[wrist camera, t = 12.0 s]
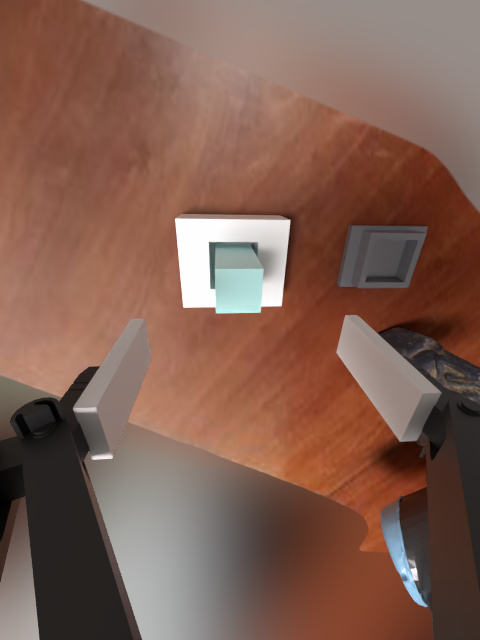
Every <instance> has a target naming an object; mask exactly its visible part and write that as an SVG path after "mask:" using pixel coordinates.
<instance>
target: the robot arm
mask: <svg viewBox="0 0 480 640" xmlns="http://www.w3.org/2000/svg"><path fill="white" fill-rule="evenodd" d="M336 353H337V354H338V356H339V357H340V358H341V360H342V361H343V363H344V364H345V365H346V367H347V368H348V370H349V371H350V372H351V374H352V375H353V377H354V378H355V379H356V381H357V382H358V384H359V385H360V386H361V388H362V389H363V391H364V392H365V393H366V395H367V396H368V398H369V399H370V400H371V402H372V403H373V405H374V406H375V407H376V409H377V410H378V412H379V413H380V414H381V416H382V417H383V419H384V420H385V421H386V423H387V424H388V426H389V427H390V428H391V430H392V431H393V433H394V434H395V435H396V437H397V438H398V440H399V441H400V442H405V441H415V442H416V443H417V444H419V445H421V446H423V449H422V451H421V452H420V455H419V457H421V458H422V457H423V456H424V454H426V474H427V487H425V488H423V489H420V490H418V491H416V492H413V493H411V494H408V495H406V496H404V497H403V496H401V497H399V498H398V499H397V500H396V501H394V502H392V503H390V504H388V505H386V506H385V507H384V508H383V509H382V511H381V526H382V531H383V534H384V538H385V541H386V544H387V547H388V550H389V552H390V555H391V557H392V560H393V562H394V565H395V567H396V569H397V571H398V572H399V573H400V575H401V578H402V581H403V583H404V585H405V587H406V589H407V591H408V592H409V594H410V595H411V597H412V598H413V599H414V601H416V602H417V603H418V604H419V605H423V606H425V607H427V606H428V607H429V609H430V611H431V613H432V618H433V640H480V404H478V403H477V402H475V401H473V400H470V399H468V398H464V397H462V396H461V394H462V393H458V392H455V391H451V390H448V389H446V388H445V387H444V386H443V385H442V384H440V383H439V382H438V381H437V380H436V379H435V378H434V377H431V375H430V374H429V373H428V372H427V371H425V369H423V368H422V367H421V366H420V365H419V364H418V363H417V362H415V361H413V360H411V359H410V358H408V357H406V356H403V357H402V356H401V355H400V354H399V353H398V352H397V351H396V350H395V349H394V348H393V347H392V346H390V345H389V344H388V343H387V342H386V341H385V340H384V339H383V338H382V337H381V336H380V335H379V334H377V333H376V332H375V331H374V330H373V329H372V328H371V327H370V326H369V325H368V324H367V323H365V322H364V321H363V320H362V319H361V318H360V317H359V316H358V315H345V319H344V323H343V327H342V331H341V336H340V340H339V344H338V348H337V352H336ZM151 358H152V357H151V351H150V345H149V339H148V333H147V328H146V322H145V319H131V320H130V321H129V323H128V324H127V326H126V328H125V329H124V331H123V332H122V334H121V335H120V337H119V338H118V340H117V341H116V343H115V344H114V346H113V347H112V349H111V350H110V352H109V353H108V355H107V357H106V358H105V360H104V361H103V363H102V364H101V366H97V367H88V368H87V369H86V370H84V371H83V372H82V373H80V374H79V376H78V377H77V378H76V380H75V381H74V382H73V384H72V385H71V386H70V388H69V389H68V391H67V392H66V393H65V394H64V396H63V397H62V399H61V400H60V401H58V400H57V399H55V398H51V397H49V398H41V399H37V400H34V401H32V402H29V403H28V404H26V405H24V406H22V407H21V408H20V409H18V410H17V411H16V412H15V413H14V414H13V416H12V417H11V420H10V423H11V425H12V427H13V429H14V431H15V432H16V434H17V436H16V437H13V438H9V439H5V440H2V441H0V581H1V577H2V572H3V568H4V564H5V560H6V556H7V552H8V547H9V543H10V539H11V535H12V531H13V526H14V522H15V518H16V514H17V510H18V506H19V502H20V498H21V497H24V496H25V497H26V507H27V516H28V527H29V536H30V547H31V557H32V567H33V577H34V587H35V597H36V607H37V618H38V627H39V638H40V640H142V638H141V635H140V632H139V629H138V626H137V623H136V620H135V616H134V614H133V610H132V607H131V604H130V601H129V598H128V595H127V592H126V589H125V585H124V582H123V579H122V576H121V573H120V570H119V567H118V564H117V561H116V557H115V554H114V551H113V548H112V545H111V542H110V539H109V536H108V533H107V529H106V527H105V523H104V520H103V517H102V514H101V511H100V508H99V505H98V502H97V498H96V495H95V492H94V489H93V486H92V483H91V480H90V477H89V474H88V471H87V467H86V465H85V462H84V459H85V457H86V455H87V453H88V451H90V454H91V457H92V459H110V458H113V457H114V454H115V451H116V449H117V446H118V444H119V441H120V439H121V436H122V433H123V431H124V428H125V426H126V423H127V421H128V418H129V415H130V413H131V410H132V408H133V405H134V402H135V400H136V397H137V395H138V392H139V390H140V387H141V384H142V382H143V379H144V377H145V374H146V371H147V369H148V366H149V364H150V361H151Z"/></svg>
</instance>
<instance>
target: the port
mask: <svg viewBox="0 0 480 640" xmlns="http://www.w3.org/2000/svg"><path fill="white" fill-rule="evenodd" d="M175 221H176V232H177V243H178V254H179V265H180V276H181V287H182V298H183V307H216V297H215V248H216V242H249V243H250V245H251V247H252V249H253V251H254V252H255V254H256V256H257V258H258V260H259V261H260V263H261V265H262V267H263V269H264V271H263V286H262V302H261V306H282V296H283V287H284V277H285V268H286V258H287V249H288V239H289V230H290V220H289V219H287V218H285V217H283V216H281V215H224V214H181V215H179V216H178V217H177V218H175Z"/></svg>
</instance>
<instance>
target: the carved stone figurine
mask: <svg viewBox="0 0 480 640" xmlns="http://www.w3.org/2000/svg"><path fill="white" fill-rule="evenodd" d="M379 335H380V336H381V337H382V338H383V339H384V340H385V341H386V342H387V343H388V344H389V345H390V346H392V347H393V348H394V349H395V350H396V351H397V352H398V353H399V354H400V355H401V356H402V357H403V356H406V357H408V358H410V359H411V360H413V361H415V362H417V363H418V364H419V365H420V366H421V367H422V368H423V369H425V371H427V372H428V373H429V374H430V375H431V377H434V378H435V379H436V380H437V381H438V382H439V383H440V384H442V385H443V386H444V387H445V388H446V389H448V390H451V391H455V392H458V393H462V394H461V396H462V397H464V398H468V399H470V400H473V401H475V402H477V403H478V404H480V367H477V366H475V365H473V364H471V363H469V362H468V361H466V360H464V359H462V358H460V357H458V356H456V355H454V354H452V353H450V352H448V351H446V350H444V349H443V347H442V346H441V345H440V344H439V343H437V342H435V341H434V340H433V339H432V338H430V337H427V336H424V335H422V334H420V333H417V332H414V331H410V330H407V329H405V328H400V327H397V328H392V329H389V330H387V331H385V332H383V333H381V334H379Z"/></svg>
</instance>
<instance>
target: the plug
mask: <svg viewBox="0 0 480 640" xmlns="http://www.w3.org/2000/svg"><path fill="white" fill-rule="evenodd" d="M263 271H264V269H263V267H262V265H261V263H260V261H259V260H258V258H257V256H256V254H255V252H254V251H253V249H252V247H251V245H250V243H249V242H216V248H215V297H216V313H261V302H262V286H263Z"/></svg>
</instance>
